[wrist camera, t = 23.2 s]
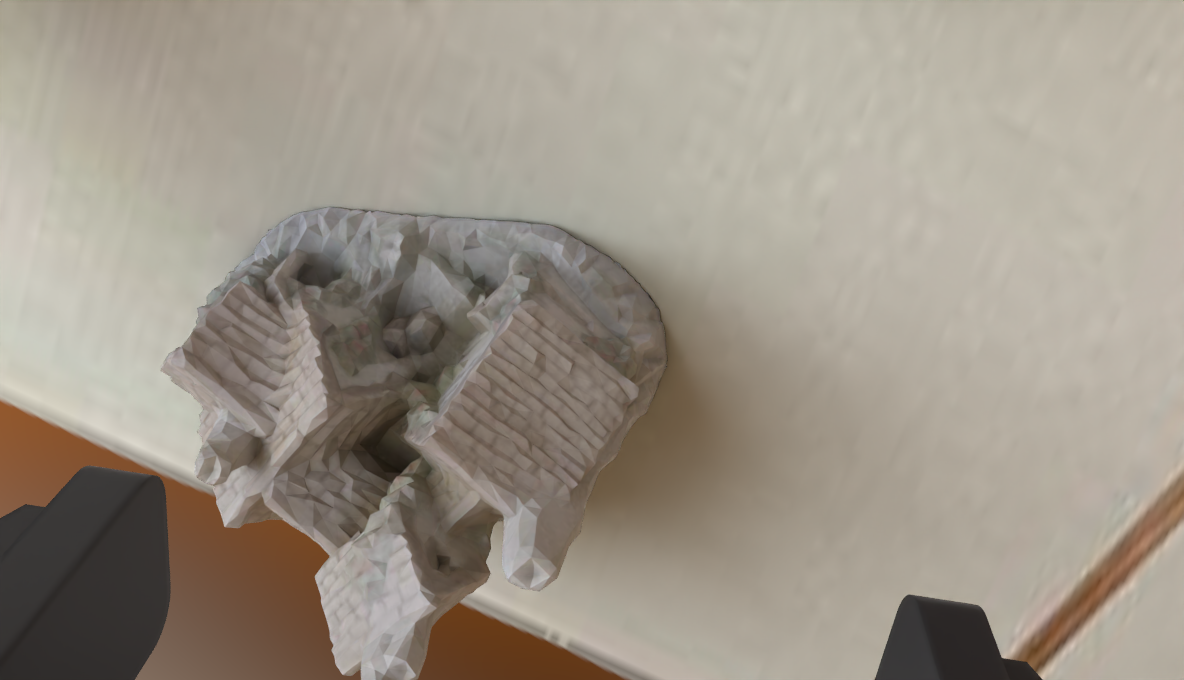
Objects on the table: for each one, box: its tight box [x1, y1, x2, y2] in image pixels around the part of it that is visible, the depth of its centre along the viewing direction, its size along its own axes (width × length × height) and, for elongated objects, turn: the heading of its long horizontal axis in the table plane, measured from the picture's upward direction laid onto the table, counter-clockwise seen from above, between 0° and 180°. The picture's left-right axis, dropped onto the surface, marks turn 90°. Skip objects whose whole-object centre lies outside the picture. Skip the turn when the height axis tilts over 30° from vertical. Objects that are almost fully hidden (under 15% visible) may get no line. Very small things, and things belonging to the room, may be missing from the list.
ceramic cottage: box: [161, 207, 667, 680], centre depth 38 cm, size 16×16×15 cm
